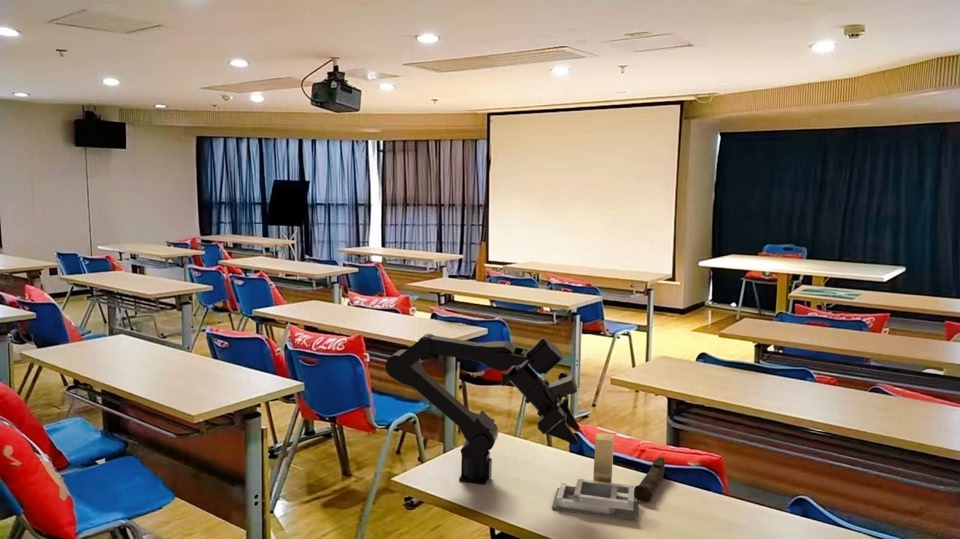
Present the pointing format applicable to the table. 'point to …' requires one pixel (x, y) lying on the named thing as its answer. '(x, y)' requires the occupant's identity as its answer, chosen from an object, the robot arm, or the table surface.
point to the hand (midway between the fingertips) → (577, 436)
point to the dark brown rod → (650, 481)
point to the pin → (603, 457)
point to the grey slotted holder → (595, 496)
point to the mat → (618, 513)
